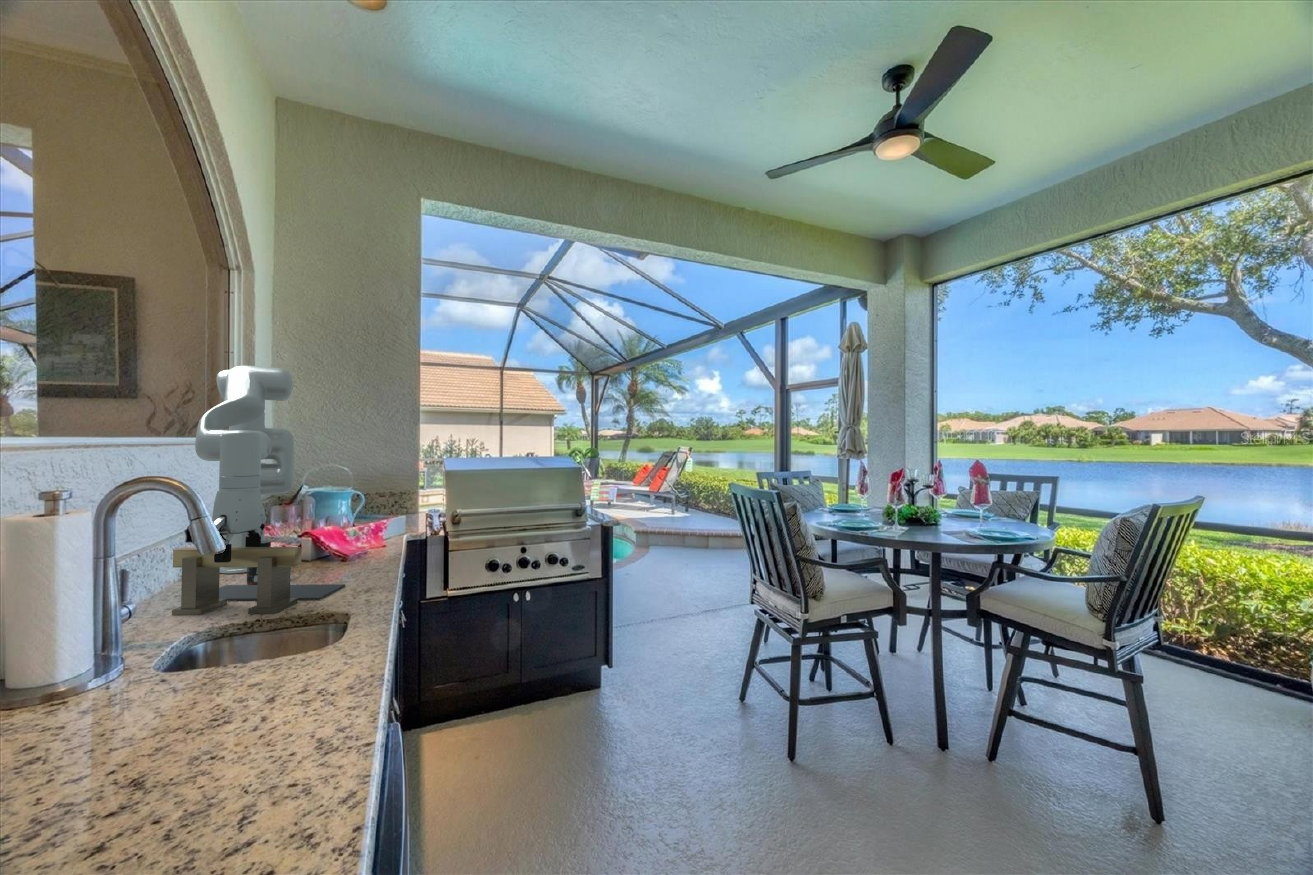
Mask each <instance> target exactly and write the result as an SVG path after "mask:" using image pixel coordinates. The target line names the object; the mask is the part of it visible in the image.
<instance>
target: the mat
mask: <svg viewBox="0 0 1313 875" xmlns="http://www.w3.org/2000/svg"><path fill="white" fill-rule="evenodd" d="M344 588H346V584H345V583H342V584H336V583H335V584H333V583H332V584H325V583H324V584H322V583H321V584H290V598H298V601H321V600H323V599H325V598H327V597H329V596H331V595H332V594H334V593H336V592H338V591H340V590H341V589H344ZM219 599H227V600H237V601H236V602H248V601H249V602H257V585H248V584H237V585H236V584H226V585H222V586H221V587H220V586H219ZM238 600H240V601H238ZM254 600H256V601H254Z"/></svg>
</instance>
